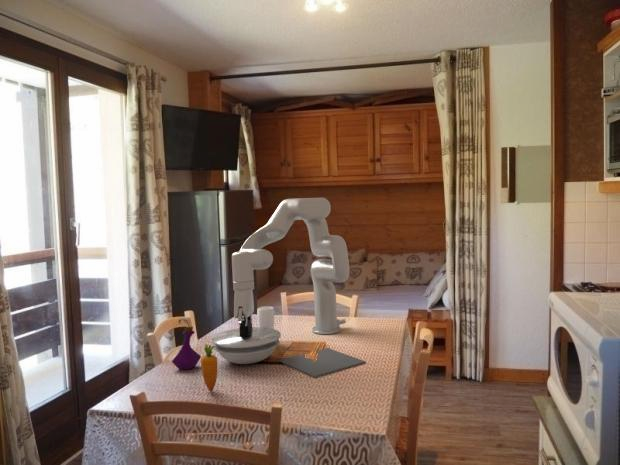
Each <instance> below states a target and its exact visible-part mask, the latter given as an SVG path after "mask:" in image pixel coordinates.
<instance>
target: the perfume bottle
mask: <svg viewBox="0 0 620 465" xmlns="http://www.w3.org/2000/svg"><path fill="white" fill-rule="evenodd" d="M181 321H184V323H186V324H187V326H185V327H184V331H183V332H182V335H184V341H183V343H182V346H181V348H180V349H179V351H178V352H177V353H176V356H175V357H174V358H173V359H172V360H171V363H172V364H173V365H174V366H176V368H177V369H178V370H183V371H190V370H192V369H194V368H195V367H196V366H197V365H198V363H199V361H200V360H201V358H202V356H201V355H200V354H199V353H198V352H196V351H195V350H194V349H193V347H191V337H192V336H193V335H194V334H195V331H194V330H193V329H194V327H193V326H190V324H189V320H188V318H187V317H182V318H180V319H178V323H179V324H181Z"/></svg>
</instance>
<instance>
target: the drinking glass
mask: <svg viewBox="0 0 620 465" xmlns="http://www.w3.org/2000/svg"><path fill="white" fill-rule="evenodd" d="M256 314H257V323H258V324H257V325H258V327H264V328H271V329H275V309H274V307H273V306H260V307H257V311H256Z"/></svg>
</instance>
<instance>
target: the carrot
mask: <svg viewBox="0 0 620 465" xmlns="http://www.w3.org/2000/svg"><path fill="white" fill-rule="evenodd" d="M214 347H215V346H214V345H213V346H212V344H207V343H206V344H205V345H204V352H205V354H206V355H203V356H201V358H200V363H201V374H202V377H203V381H204V384H205V386H206V388H207V389H208V391H209V392H210V393H211V392H213V390H214V388H215V386H216V383H217V378H218V357H217V356H216V355H215V354H212V353H214V352H213V350H214Z"/></svg>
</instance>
